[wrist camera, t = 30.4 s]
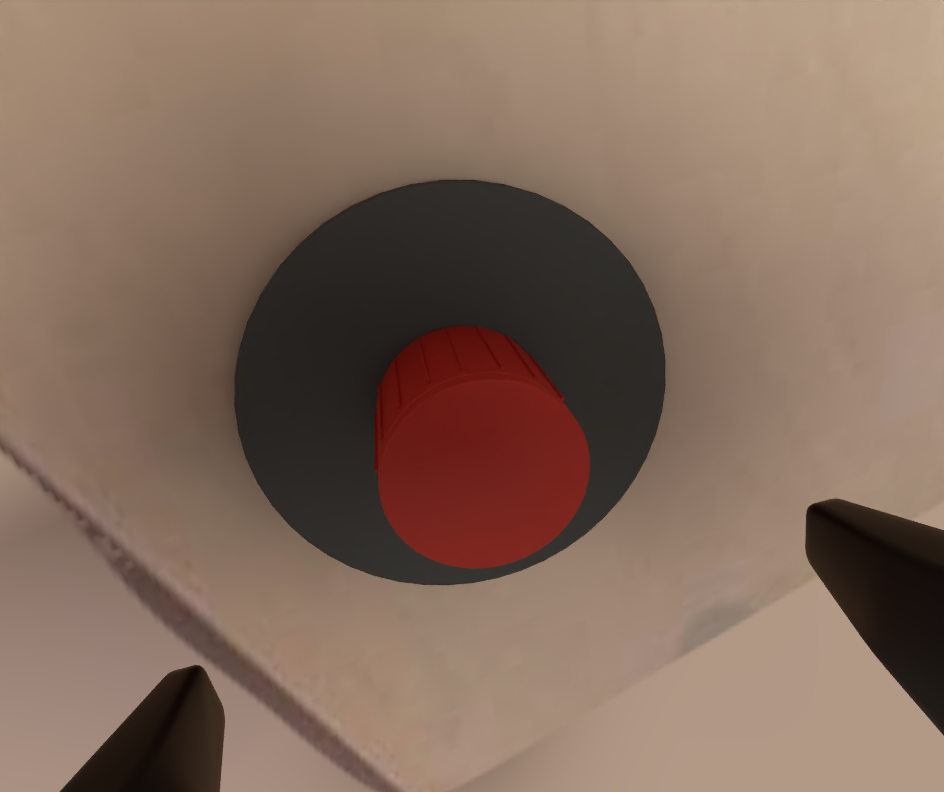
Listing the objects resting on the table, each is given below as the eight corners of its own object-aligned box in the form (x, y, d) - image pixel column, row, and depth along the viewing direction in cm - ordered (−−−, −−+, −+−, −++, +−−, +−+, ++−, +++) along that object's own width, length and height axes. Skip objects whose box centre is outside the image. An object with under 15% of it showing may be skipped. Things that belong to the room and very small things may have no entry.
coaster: (669, 521, 19) (678, 532, 18) (311, 612, 18) (309, 627, 18) (640, 135, 15) (650, 135, 14) (169, 235, 14) (160, 239, 13)
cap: (533, 306, 15) (581, 354, 12) (553, 462, 17) (600, 545, 13) (356, 342, 15) (352, 403, 11) (395, 498, 17) (402, 592, 13)
